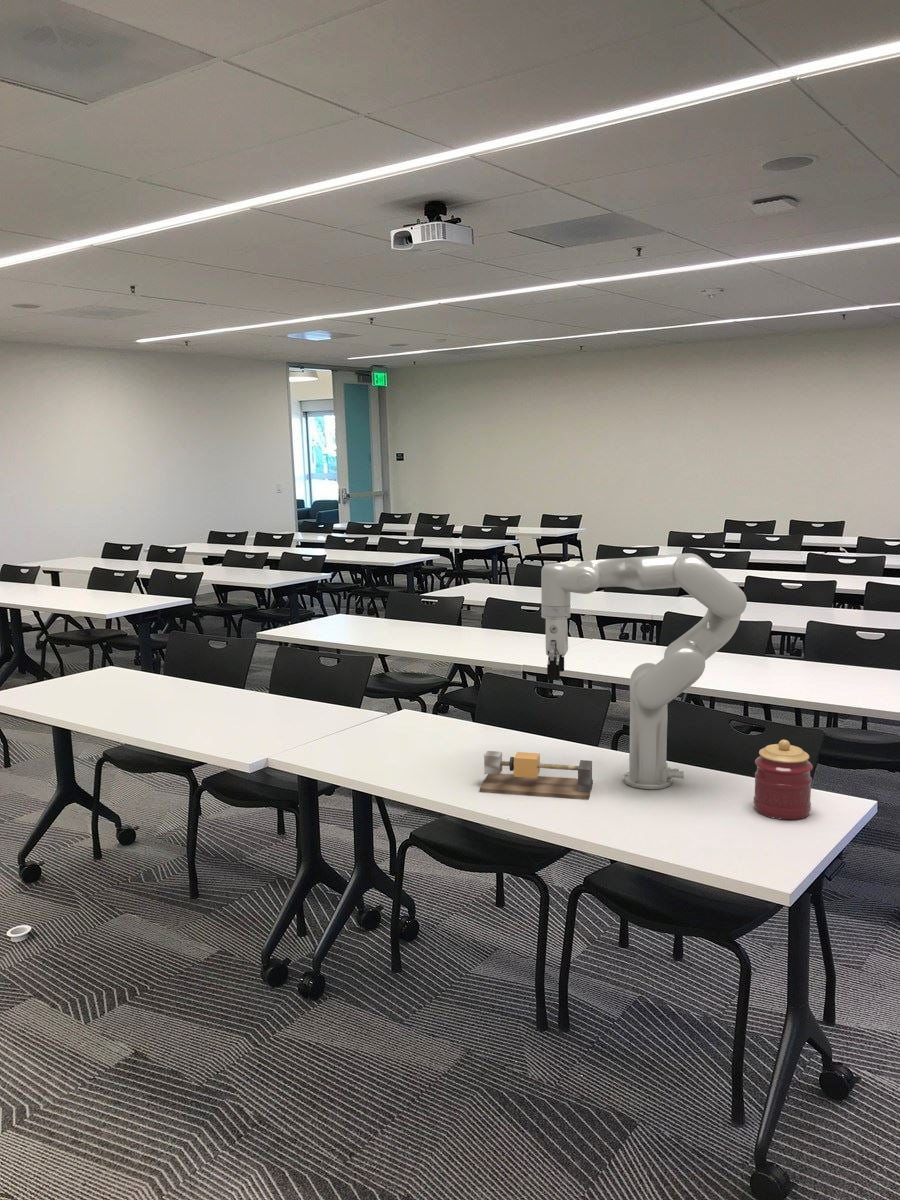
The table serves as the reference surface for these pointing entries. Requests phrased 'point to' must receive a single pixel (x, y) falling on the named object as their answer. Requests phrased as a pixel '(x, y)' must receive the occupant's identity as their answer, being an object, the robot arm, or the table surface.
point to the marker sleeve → (526, 764)
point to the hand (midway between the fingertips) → (555, 675)
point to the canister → (783, 781)
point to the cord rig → (536, 780)
